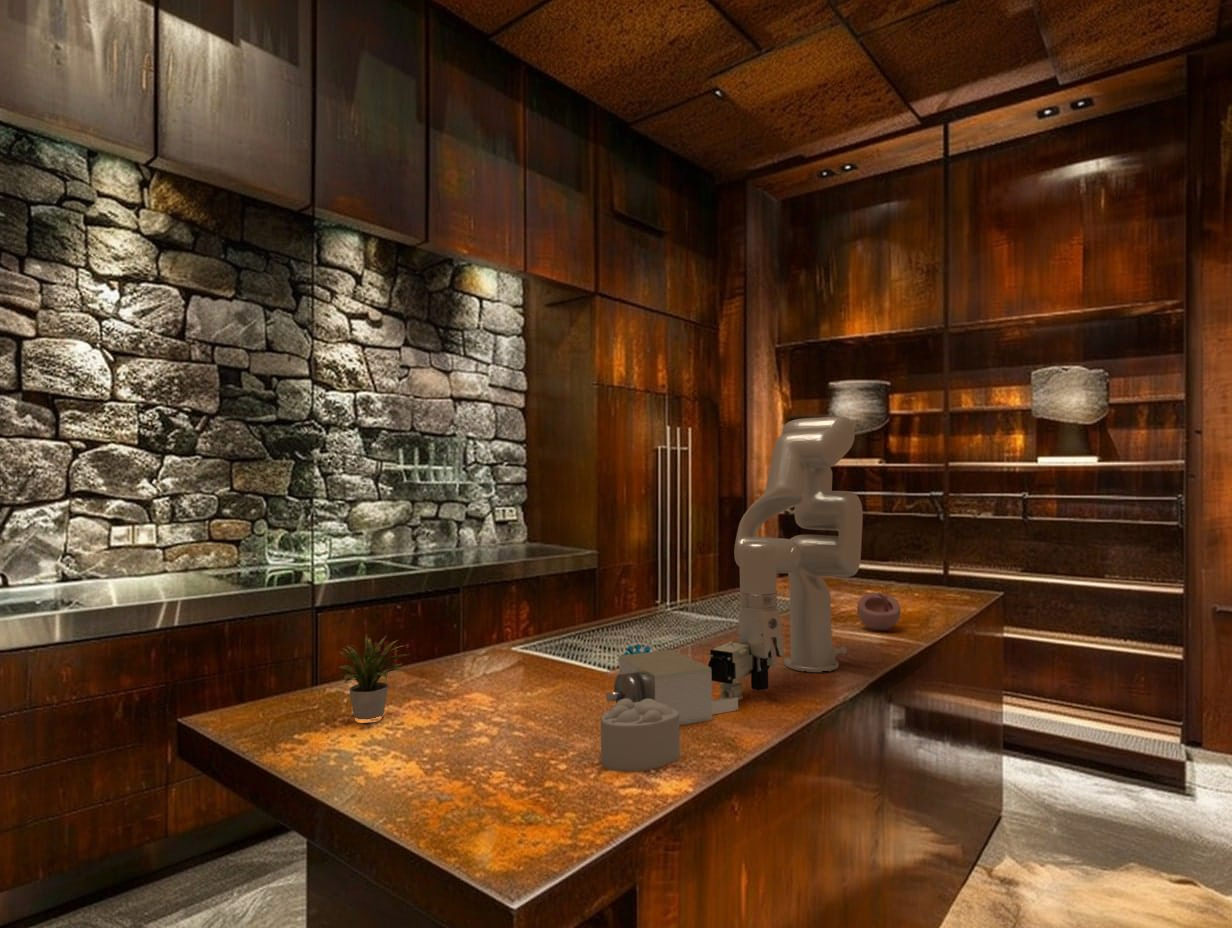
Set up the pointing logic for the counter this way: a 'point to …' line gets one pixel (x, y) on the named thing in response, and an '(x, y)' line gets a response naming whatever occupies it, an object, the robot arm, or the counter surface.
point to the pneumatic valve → (731, 667)
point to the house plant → (369, 679)
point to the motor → (670, 685)
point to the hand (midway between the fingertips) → (759, 688)
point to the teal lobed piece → (637, 647)
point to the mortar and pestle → (878, 611)
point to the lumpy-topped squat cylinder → (639, 736)
